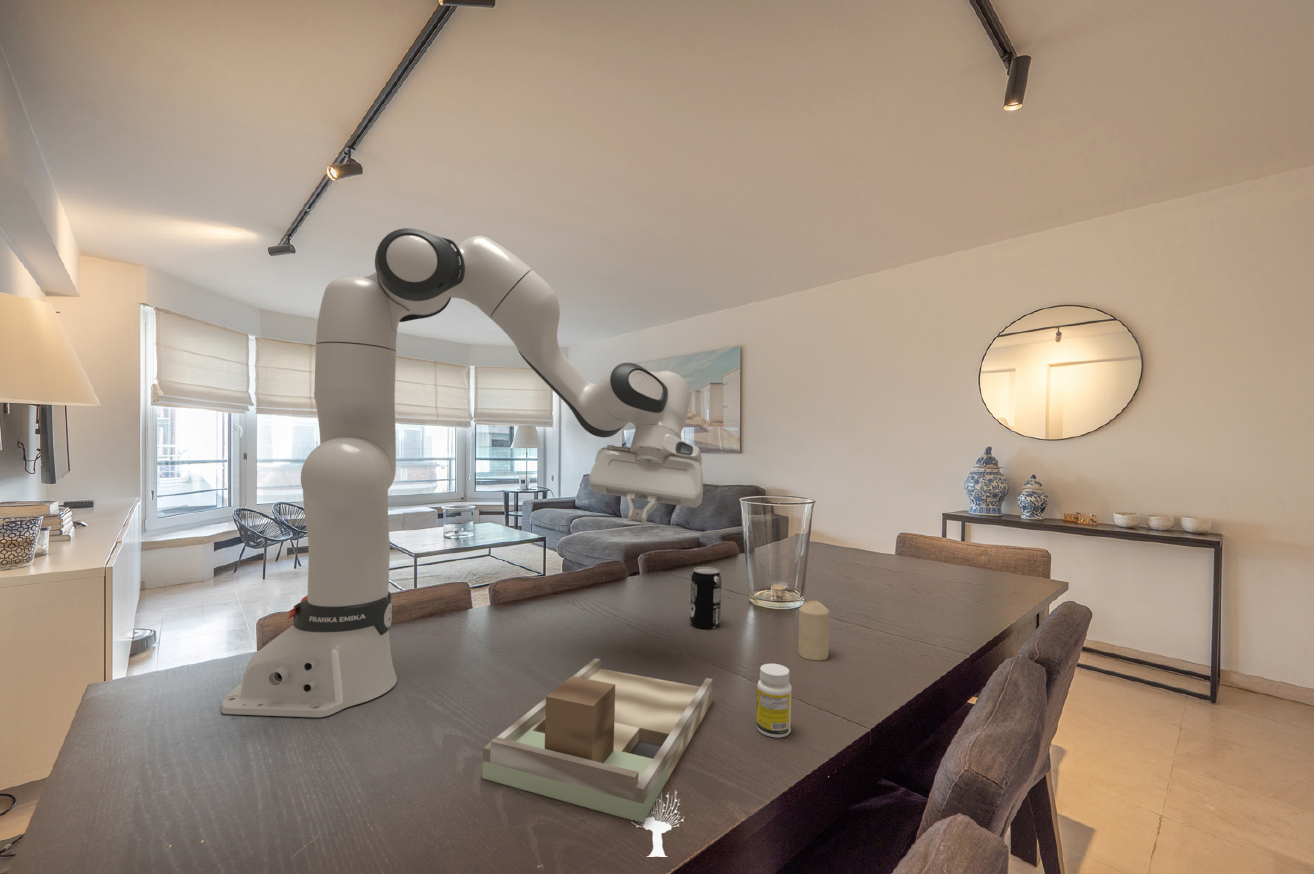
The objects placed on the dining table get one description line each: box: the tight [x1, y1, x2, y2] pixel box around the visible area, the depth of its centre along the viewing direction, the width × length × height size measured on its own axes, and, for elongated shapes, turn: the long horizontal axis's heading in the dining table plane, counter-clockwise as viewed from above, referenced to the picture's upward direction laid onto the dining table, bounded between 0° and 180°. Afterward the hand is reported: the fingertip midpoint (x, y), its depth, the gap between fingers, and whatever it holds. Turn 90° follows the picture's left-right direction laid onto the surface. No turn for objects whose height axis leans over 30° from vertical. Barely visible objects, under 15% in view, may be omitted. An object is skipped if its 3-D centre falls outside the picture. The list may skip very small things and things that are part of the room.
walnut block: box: [545, 675, 615, 763], centre depth 65 cm, size 6×6×8 cm
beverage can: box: [689, 566, 723, 630], centre depth 121 cm, size 7×7×12 cm
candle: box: [797, 600, 830, 662], centre depth 105 cm, size 6×6×10 cm
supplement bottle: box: [756, 663, 793, 739], centre depth 77 cm, size 5×5×8 cm
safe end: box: [481, 730, 669, 823], centre depth 64 cm, size 8×20×2 cm, turn 70°
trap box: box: [482, 658, 714, 804], centre depth 74 cm, size 29×20×4 cm
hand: (636, 520), depth 94 cm, fingers closed
